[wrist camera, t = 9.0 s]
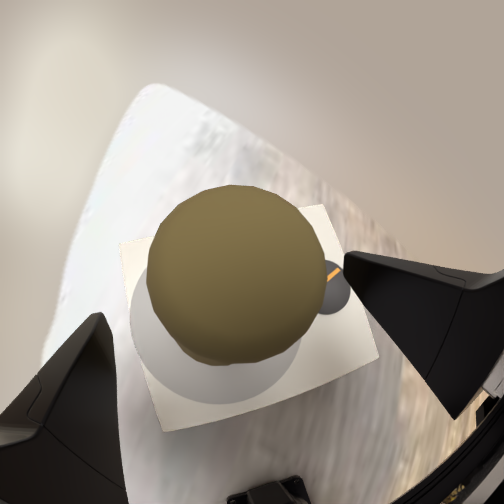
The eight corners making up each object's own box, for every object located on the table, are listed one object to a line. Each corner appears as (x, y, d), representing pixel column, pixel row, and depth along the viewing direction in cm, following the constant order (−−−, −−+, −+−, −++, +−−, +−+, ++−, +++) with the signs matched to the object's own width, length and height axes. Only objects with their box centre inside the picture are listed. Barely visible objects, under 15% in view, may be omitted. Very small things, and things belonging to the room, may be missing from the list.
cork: (217, 251, 18) (242, 123, 8) (285, 316, 17) (394, 255, 7) (148, 315, 16) (73, 246, 6) (220, 386, 15) (253, 438, 5)
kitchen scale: (353, 359, 22) (385, 356, 17) (169, 419, 18) (161, 435, 13) (306, 225, 26) (326, 198, 21) (131, 262, 21) (116, 239, 17)
